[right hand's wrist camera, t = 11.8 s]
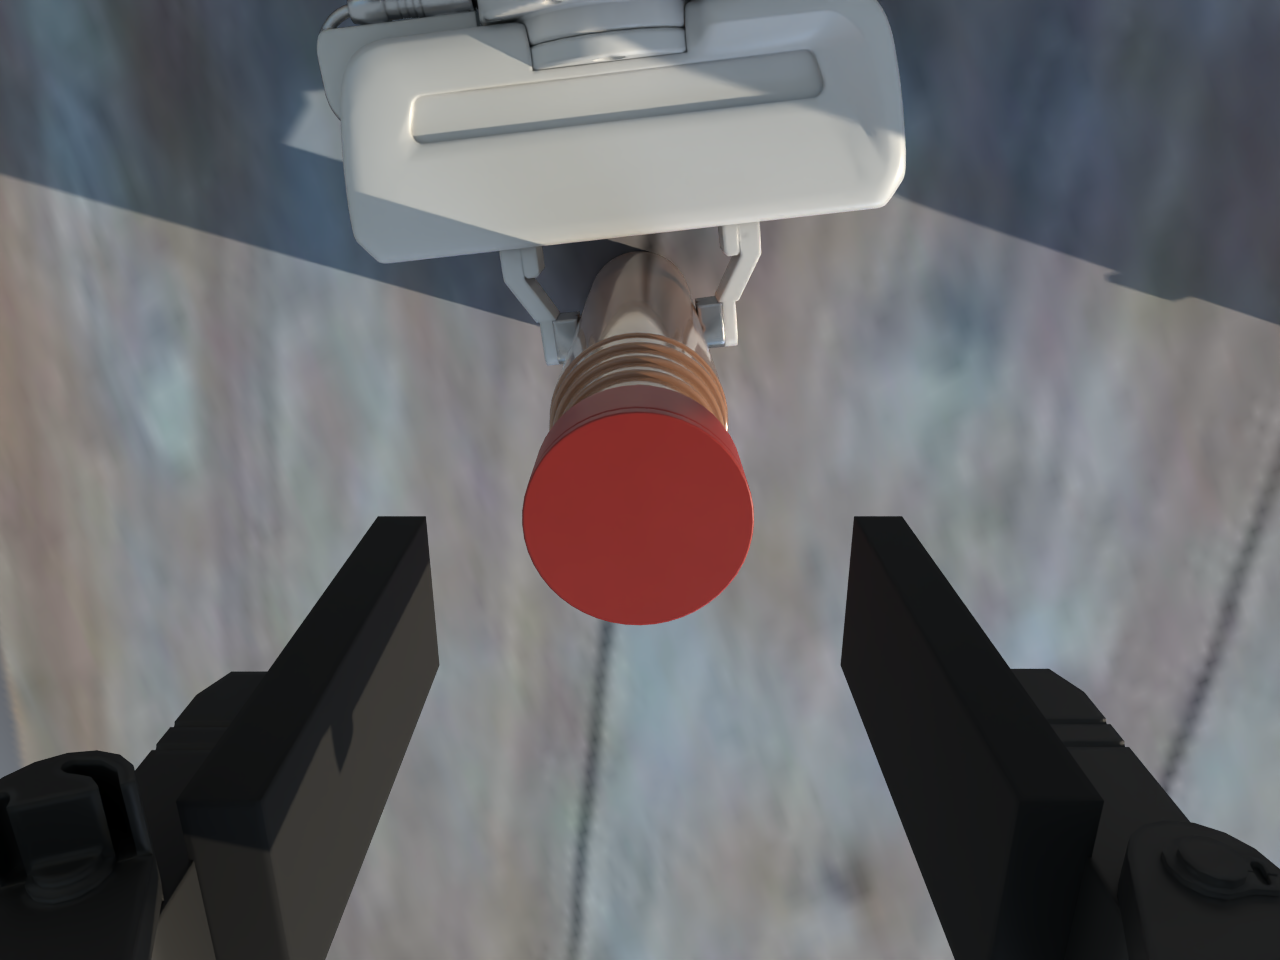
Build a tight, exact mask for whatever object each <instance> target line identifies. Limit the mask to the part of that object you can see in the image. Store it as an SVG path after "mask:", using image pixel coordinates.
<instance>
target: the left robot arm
mask: <svg viewBox="0 0 1280 960" xmlns="http://www.w3.org/2000/svg"><path fill="white" fill-rule="evenodd" d="M477 9H478V11H479V14H478V13H477ZM411 17H412V18H416V19H408V20H400V21H392V20H398V19H403V18H411ZM418 17H420V18H418ZM348 18H351V20H352V21H353V23H354V24H358V25H359V26H351V27H343V28H337V26H338V25H339V24H340V23H341V22H343V21H344V20H346V19H348ZM479 19H480V20H479ZM480 23H481V24H482V26H480ZM317 57H318V62H319V66H320V71H321V76H322V81H323V85H324V90H325V95H326V98H327V100H328V103H329V105H330V107H331V109H332V111H333V112H334V114H335V115H336V116H337V118H338V119H339V120H340V121H341V140H342V155H343V168H344V177H345V185H346V194H347V201H348V208H349V214H350V220H351V225H352V230H353V234H354V237H355V239H356V241H357V242H358V244H359V245H361V246H362V247H363V248H364V249H365V250H366V251H367V252H368V253H369V254H370V255H371V256H372V257H373V258H375V259H376V260H377V261H378V262H380V263H396V262H405V261H414V260H422V259H431V258H440V257H449V256H458V255H467V254H475V253H484V252H493V251H499V254H500V260H501V266H502V273H503V279H504V282H505V284H506V285H507V286H508V287H509V289H510V290H511V291H512V293H513V294H514V295H515V296H516V298H517V299H518V300H519V301H520V303H521V304H522V305H523V306H524V308H525V309H526V310H527V312H528V313H529V314H530V315H531V317H532V318H533V319H534V320H535V322H536V323H540V329H541V335H542V342H543V349H544V355H545V361H546V364H547V365H559V364H564V362H565V359H566V357H567V354H568V351H569V348H570V345H571V343H572V340H573V337H574V334H575V331H576V329H577V326H578V323H579V320H580V311H578V312H566V313H560V312H559V310H558V309H557V308H556V306H555V305H554V303H553V302H552V301H551V299H550V298H549V297H548V295H547V294H546V293H545V291H544V290H543V288H542V287H541V286H540V284H539V283H538V282H537V280H536V279H535V278H536V277H538V276H539V274H540V273H541V272H542V271H543V269H544V268H545V264H544V256H543V249H542V246H546V245H555V244H564V243H573V242H582V241H591V240H599V239H608V238H617V237H626V236H635V235H644V234H652V233H661V232H670V231H679V230H688V229H697V228H706V227H714V226H718V232H719V243H720V248H721V250H722V251H723V252H724V254H726V255H727V256H732V258H731V260H730V262H729V264H728V266H727V269H726V271H725V273H724V275H723V277H722V280H721V282H720V284H719V286H718V289H717V291H716V293H715V296H711V297H704V298H696V299H695V306H696V312H697V315H698V318H699V321H700V324H701V327H702V330H703V333H704V336H705V339H706V342H707V345H708V347H709V348H715V347H725V346H735V345H737V342H738V334H737V320H736V306H735V301H738V300H739V298H740V296H741V294H742V292H743V290H744V288H745V286H746V284H747V282H748V280H749V278H750V276H751V274H752V272H753V269H754V267H755V265H756V263H757V261H758V259H759V257H760V255H761V238H760V221H767V220H776V219H785V218H794V217H803V216H812V215H821V214H829V213H838V212H847V211H856V210H865V209H873V208H880V207H883V206H884V205H886V204H887V202H888V201H889V200H890V199H891V197H892V196H893V194H894V193H895V192H896V190H897V189H898V187H899V185H900V184H901V182H902V181H903V178H904V175H905V169H906V145H905V125H904V112H903V101H902V92H901V82H900V75H899V68H898V61H897V55H896V49H895V43H894V39H893V34H892V30H891V27H890V24H889V21H888V19H887V16H886V14H885V12H884V10H883V8H882V7H881V5H880V4H879V2H878V1H877V0H347V5H344V6H342V7H340V8H338V9H336V10H335V11H334V12H333V13H332V14H330V15H329V17H328V18H327V19H326V21H325V22H324V24H323V25H322V28H321V30H320V32H319V36H318V40H317Z"/></svg>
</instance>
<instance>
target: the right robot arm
mask: <svg viewBox="0 0 1280 960" xmlns="http://www.w3.org/2000/svg"><path fill="white" fill-rule="evenodd" d="M438 667H439V656H438V645H437V634H436V623H435V612H434V601H433V590H432V579H431V568H430V557H429V546H428V535H427V524H426V516H378V517H377V519H376V520H375V521H374V523H373V524H372V526H371V527H370V528H369V530H368V531H367V533H366V534H365V535H364V537H363V538H362V540H361V541H360V542H359V544H358V545H357V547H356V548H355V550H354V551H353V552H352V554H351V555H350V557H349V558H348V559H347V561H346V562H345V564H344V565H343V566H342V568H341V569H340V571H339V572H338V573H337V575H336V576H335V578H334V579H333V580H332V582H331V583H330V585H329V586H328V587H327V589H326V590H325V592H324V593H323V595H322V596H321V597H320V599H319V600H318V602H317V603H316V604H315V606H314V607H313V609H312V610H311V611H310V613H309V614H308V616H307V617H306V618H305V620H304V621H303V623H302V624H301V625H300V627H299V628H298V630H297V631H296V633H295V634H294V635H293V637H292V638H291V640H290V641H289V642H288V644H287V645H286V647H285V648H284V649H283V651H282V652H281V654H280V655H279V656H278V658H277V659H276V661H275V662H274V663H273V665H272V666H271V668H270V669H269V670H268V672H230V673H229V674H227V675H226V676H224V677H223V678H221V679H220V680H218V681H217V682H215V683H214V684H212V685H211V686H209V687H208V688H206V689H205V690H203V691H202V692H200V693H199V694H197V695H196V696H195V697H194V699H193V700H192V701H191V702H190V704H189V705H188V706H187V707H186V709H185V710H184V711H183V712H182V713H181V715H180V716H179V717H178V718H177V720H176V721H175V725H174V727H170V728H169V730H168V731H167V732H166V733H165V734H164V736H163V737H162V738H161V739H160V741H159V742H158V743H157V744H156V746H157V747H156V750H151V752H150V753H149V754H148V755H147V757H146V758H145V759H144V760H143V762H142V763H141V764H140V765H139V767H138V768H137V769H136V770H134V766H133V765H132V764H131V763H130V762H129V761H127V760H126V759H125V758H123V757H122V756H121V755H119V754H114V753H108V752H103V751H97V750H96V751H85V752H74V753H66V754H62V755H59V756H55V757H52V758H48V759H45V760H41V761H37V762H34V763H32V764H30V765H28V766H26V767H24V768H21V769H19V770H17V771H15V772H13V773H11V774H9V775H7V776H4V777H3V778H1V779H0V960H325V959H326V956H327V953H328V951H329V948H330V946H331V943H332V940H333V938H334V935H335V933H336V930H337V928H338V925H339V922H340V920H341V917H342V915H343V912H344V910H345V907H346V904H347V902H348V899H349V897H350V894H351V892H352V889H353V886H354V884H355V881H356V879H357V876H358V873H359V871H360V868H361V866H362V863H363V861H364V858H365V855H366V853H367V850H368V848H369V845H370V843H371V840H372V837H373V835H374V832H375V830H376V827H377V825H378V822H379V819H380V817H381V814H382V812H383V809H384V806H385V804H386V801H387V799H388V796H389V794H390V791H391V788H392V786H393V783H394V781H395V778H396V776H397V773H398V770H399V768H400V765H401V763H402V760H403V757H404V755H405V752H406V750H407V747H408V745H409V742H410V739H411V737H412V734H413V732H414V729H415V727H416V724H417V721H418V719H419V716H420V714H421V711H422V709H423V706H424V703H425V701H426V698H427V696H428V693H429V690H430V688H431V685H432V683H433V680H434V678H435V675H436V672H437V670H438ZM841 667H842V670H843V672H844V675H845V678H846V680H847V683H848V685H849V688H850V690H851V693H852V696H853V698H854V701H855V703H856V706H857V709H858V711H859V714H860V716H861V719H862V721H863V724H864V727H865V729H866V732H867V734H868V737H869V739H870V742H871V745H872V747H873V750H874V752H875V755H876V757H877V760H878V763H879V765H880V768H881V770H882V773H883V776H884V778H885V781H886V783H887V786H888V788H889V791H890V794H891V796H892V799H893V801H894V804H895V806H896V809H897V812H898V814H899V817H900V819H901V822H902V825H903V827H904V830H905V832H906V835H907V837H908V840H909V843H910V845H911V848H912V850H913V853H914V855H915V858H916V861H917V863H918V866H919V868H920V871H921V873H922V876H923V879H924V881H925V884H926V886H927V889H928V892H929V894H930V897H931V899H932V902H933V904H934V907H935V910H936V912H937V915H938V917H939V920H940V922H941V925H942V928H943V930H944V933H945V935H946V938H947V940H948V943H949V946H950V948H951V951H952V953H953V956H954V959H955V960H1280V869H1279V868H1278V867H1277V866H1275V865H1274V864H1273V863H1272V862H1271V861H1269V860H1268V859H1267V858H1266V857H1264V856H1263V855H1262V854H1261V853H1260V852H1258V851H1257V850H1256V849H1255V848H1253V847H1251V846H1249V845H1247V844H1245V843H1243V842H1241V841H1240V840H1238V839H1236V838H1234V837H1232V836H1230V835H1228V834H1226V833H1224V832H1221V831H1218V830H1215V829H1212V828H1208V827H1205V826H1202V825H1199V824H1196V823H1191V822H1190V821H1189V820H1188V819H1187V818H1186V816H1185V815H1184V814H1183V813H1182V811H1181V810H1180V809H1179V808H1178V807H1177V805H1176V804H1175V803H1174V802H1173V800H1172V799H1171V798H1170V797H1169V796H1168V794H1167V793H1166V792H1165V791H1164V789H1163V788H1162V787H1161V786H1160V785H1159V783H1158V782H1157V781H1156V780H1155V778H1154V777H1153V776H1152V775H1151V773H1150V772H1149V771H1148V770H1147V769H1146V767H1145V766H1144V765H1143V764H1142V762H1141V761H1140V760H1139V759H1138V758H1137V756H1136V755H1135V754H1134V753H1133V751H1132V750H1131V749H1130V748H1129V747H1125V745H1124V740H1123V739H1122V738H1121V737H1120V735H1119V734H1118V733H1117V732H1116V731H1115V729H1114V728H1113V727H1112V726H1111V724H1106V718H1105V717H1104V716H1103V715H1102V713H1101V712H1100V711H1099V710H1098V709H1097V707H1096V706H1095V705H1094V704H1093V702H1092V701H1091V700H1090V699H1089V698H1088V696H1087V695H1086V694H1085V693H1084V692H1083V691H1082V690H1080V689H1079V688H1077V687H1076V686H1074V685H1073V684H1071V683H1070V682H1068V681H1067V680H1065V679H1064V678H1062V677H1061V676H1059V675H1057V674H1056V673H1054V672H1053V671H1051V670H1050V669H1010V668H1009V666H1008V665H1007V663H1006V662H1005V661H1004V659H1003V658H1002V656H1001V655H1000V654H999V652H998V651H997V649H996V648H995V647H994V645H993V644H992V642H991V641H990V640H989V638H988V637H987V635H986V634H985V633H984V631H983V630H982V628H981V627H980V625H979V624H978V623H977V621H976V620H975V618H974V617H973V616H972V614H971V613H970V611H969V610H968V609H967V607H966V606H965V604H964V603H963V602H962V600H961V599H960V597H959V596H958V595H957V593H956V592H955V590H954V589H953V587H952V586H951V585H950V583H949V582H948V580H947V579H946V578H945V576H944V575H943V573H942V572H941V571H940V569H939V568H938V566H937V565H936V564H935V562H934V561H933V559H932V558H931V557H930V555H929V554H928V552H927V551H926V550H925V548H924V547H923V545H922V544H921V542H920V541H919V540H918V538H917V537H916V535H915V534H914V533H913V531H912V530H911V528H910V527H909V526H908V524H907V523H906V521H905V520H904V519H903V517H902V516H854V524H853V535H852V546H851V557H850V568H849V579H848V590H847V601H846V612H845V623H844V634H843V645H842V656H841Z"/></svg>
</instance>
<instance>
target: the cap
mask: <svg viewBox="0 0 1280 960" xmlns="http://www.w3.org/2000/svg"><path fill="white" fill-rule="evenodd" d="M522 526H523V533H524V539H525V543H526V546H527V550H528V553H529V555H530V557H531V560H532V562H533V564H534V566H535V568H536V569H537V571H538V572H539V574H540V576H541V577H542V578H543V580H544V581H545V582H546V583H547V585H548V586H549V587H550V588H551V589H552V590H553V591H554V592H555V593H556V594H557V595H558V596H559V597H560V598H562V599H563V600H565V601H566V602H567V603H569V604H570V605H571V606H573V607H575V608H577V609H578V610H580V611H582V612H584V613H586V614H588V615H591V616H593V617H595V618H598V619H602V620H605V621H609V622H613V623H619V624H625V625H649V624H658V623H663V622H668V621H671V620H675V619H678V618H681V617H684V616H686V615H688V614H690V613H693V612H695V611H697V610H698V609H700V608H701V607H703V606H705V605H706V604H708V603H709V602H710V601H712V600H713V599H714V598H716V597H717V596H718V595H719V594H720V593H721V592H722V591H723V590H724V589H725V588H726V587H727V586H728V585H729V584H730V582H731V581H732V580H733V579H734V577H735V576H736V575H737V573H738V571H739V570H740V568H741V566H742V564H743V563H744V560H745V558H746V555H747V553H748V550H749V547H750V543H751V539H752V535H753V526H754V510H753V503H752V497H751V492H750V489H749V486H748V483H747V480H746V477H745V474H744V470H743V467H742V464H741V461H740V458H739V455H738V452H737V449H736V447H735V445H734V443H733V441H732V439H731V437H730V435H729V433H728V432H727V430H726V429H725V428H724V426H723V425H722V424H721V422H720V421H719V420H718V419H717V418H716V417H715V416H714V415H713V414H712V413H711V412H710V411H709V410H707V409H706V408H705V407H704V406H702V405H701V404H699V403H698V402H696V401H695V400H693V399H691V398H689V397H687V396H685V395H683V394H681V393H679V392H676V391H672V390H669V389H666V388H661V387H656V386H649V385H629V386H620V387H615V388H611V389H607V390H604V391H601V392H598V393H595V394H593V395H591V396H589V397H587V398H585V399H583V400H582V401H580V402H579V403H577V404H576V405H574V406H573V407H571V408H570V409H569V410H568V411H567V412H566V413H565V414H563V415H562V416H561V417H560V418H559V420H558V421H557V422H556V423H555V424H554V426H553V427H552V428H551V430H550V431H549V433H548V434H547V436H546V438H545V439H544V442H543V444H542V446H541V448H540V450H539V453H538V456H537V459H536V462H535V465H534V468H533V471H532V474H531V477H530V480H529V483H528V487H527V490H526V493H525V497H524V503H523V510H522Z"/></svg>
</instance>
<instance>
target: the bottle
mask: <svg viewBox="0 0 1280 960" xmlns="http://www.w3.org/2000/svg"><path fill="white" fill-rule="evenodd" d="M629 385H649V386H656V387H661V388H666V389H669V390H672V391H676V392H679V393H681V394H683V395H685V396H687V397H689V398H691V399H693V400H695V401H696V402H698V403H699V404H701V405H702V406H704V407H705V408H706V409H707V410H709V411H710V412H711V413H712V414H713V415H714V416H715V417H716V418H717V419H718V420H719V421H720V422H721V424H722V425H723V426H724V428H725V429H726V430H727V432H728V410H727V404H726V398H725V395H724V392H723V389H722V386H721V383H720V380H719V377H718V374H717V371H716V368H715V365H714V362H713V359H712V356H711V353H710V350H709V347H708V345H707V342H706V339H705V336H704V333H703V330H702V327H701V324H700V321H699V318H698V315H697V312H696V309H695V306H694V303H693V300H692V297H691V294H690V291H689V288H688V285H687V283H686V281H685V278H684V277H683V275H682V274H681V272H680V271H679V270H678V268H677V267H676V266H675V265H674V264H673V263H671V262H670V261H669V260H667V259H666V258H664V257H662V256H660V255H657V254H654V253H650V252H644V251H636V252H629V253H625V254H622V255H620V256H618V257H616V258H614V259H612V260H611V261H609V262H608V263H607V264H606V265H605V266H604V267H603V268H602V269H601V270H600V271H599V273H598V274H597V276H596V277H595V279H594V282H593V284H592V286H591V289H590V292H589V295H588V298H587V300H586V303H585V306H584V309H583V312H582V314H581V317H580V320H579V323H578V326H577V329H576V331H575V334H574V337H573V340H572V343H571V345H570V348H569V351H568V354H567V357H566V359H565V362H564V365H563V368H562V371H561V373H560V376H559V379H558V382H557V385H556V387H555V390H554V394H553V397H552V401H551V408H550V429H549V431H550V430H551V428H552V427H553V426H554V424H555V423H556V422H557V421H558V420H559V418H560V417H561V416H562V415H563V414H565V413H566V412H567V411H568V410H569V409H570V408H571V407H573V406H574V405H576V404H577V403H579V402H580V401H582V400H583V399H585V398H587V397H589V396H591V395H593V394H595V393H598V392H601V391H604V390H607V389H611V388H615V387H620V386H629Z"/></svg>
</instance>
